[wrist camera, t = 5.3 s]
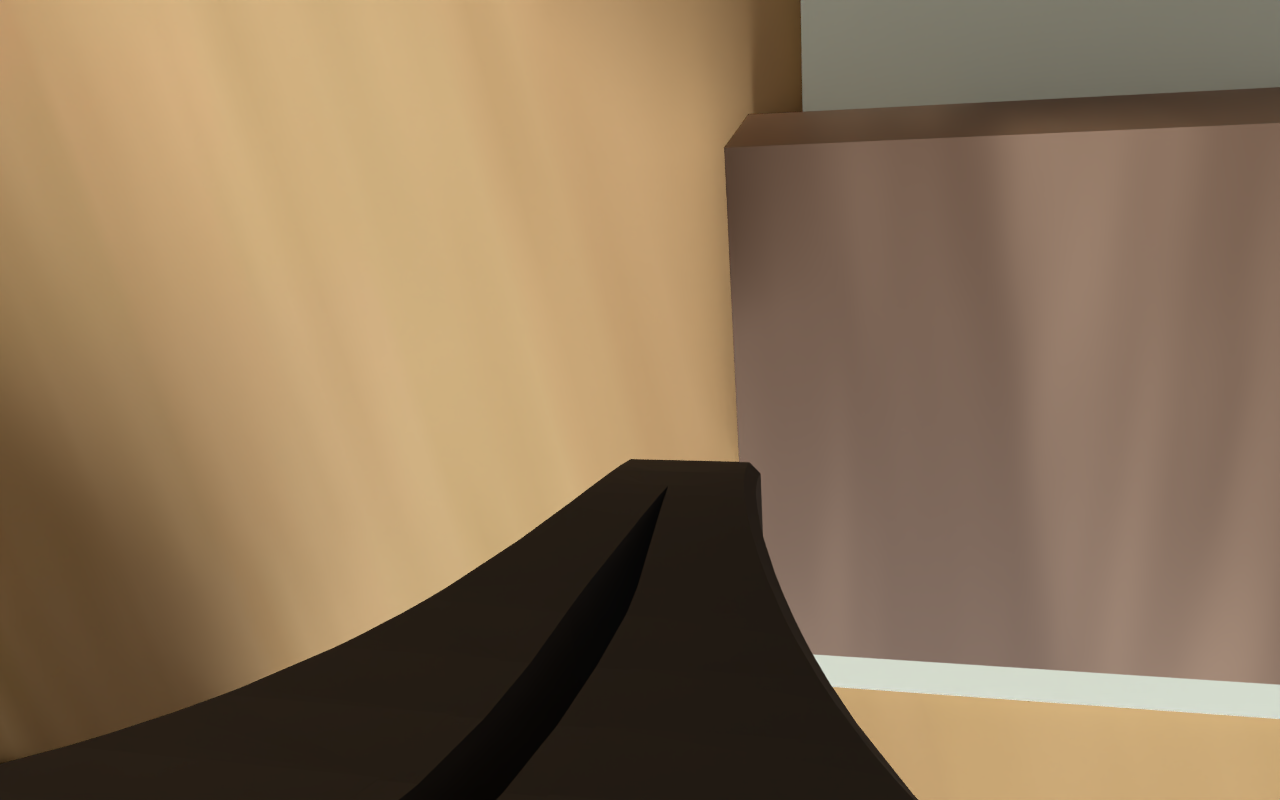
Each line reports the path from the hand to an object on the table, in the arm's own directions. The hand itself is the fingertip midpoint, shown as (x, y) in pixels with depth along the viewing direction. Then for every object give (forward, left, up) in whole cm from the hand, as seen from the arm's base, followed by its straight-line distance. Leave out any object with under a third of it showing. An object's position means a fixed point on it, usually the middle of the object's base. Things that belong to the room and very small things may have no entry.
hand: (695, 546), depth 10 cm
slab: (0, 0, -4) cm, 4 cm away
